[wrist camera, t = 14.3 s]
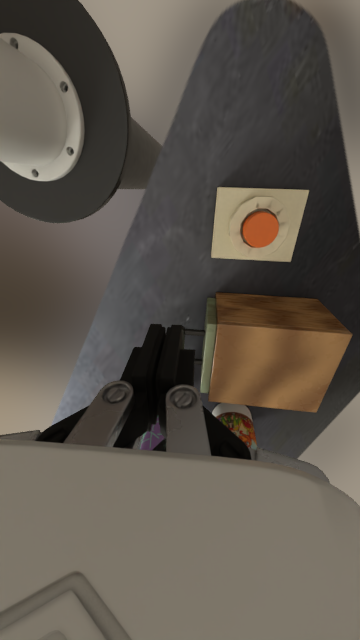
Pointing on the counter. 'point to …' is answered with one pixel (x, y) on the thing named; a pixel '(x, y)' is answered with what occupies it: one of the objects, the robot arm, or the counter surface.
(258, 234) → the button
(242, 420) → the milk bottle
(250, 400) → the cabinet
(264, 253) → the button box
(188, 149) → the counter surface
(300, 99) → the counter surface
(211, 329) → the drawer
